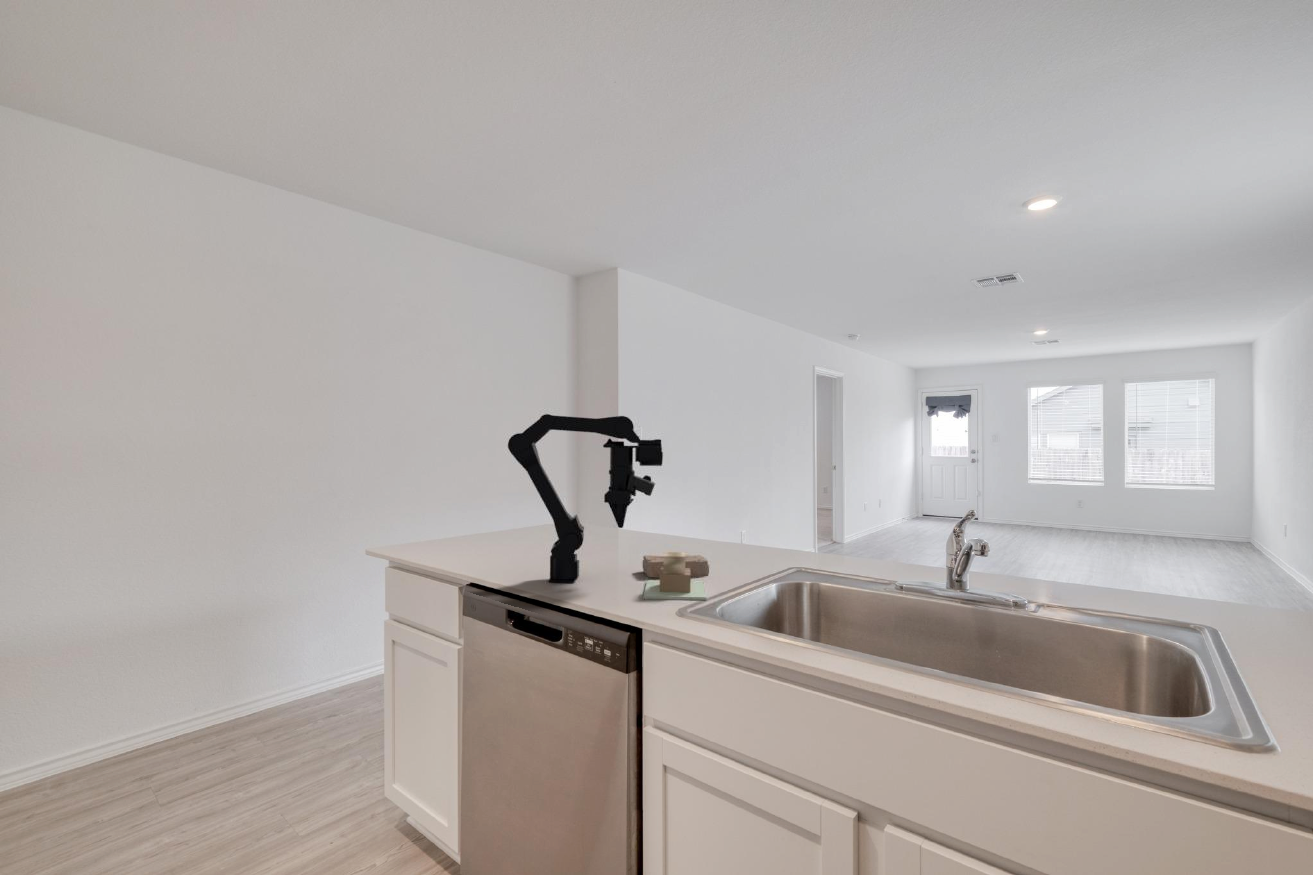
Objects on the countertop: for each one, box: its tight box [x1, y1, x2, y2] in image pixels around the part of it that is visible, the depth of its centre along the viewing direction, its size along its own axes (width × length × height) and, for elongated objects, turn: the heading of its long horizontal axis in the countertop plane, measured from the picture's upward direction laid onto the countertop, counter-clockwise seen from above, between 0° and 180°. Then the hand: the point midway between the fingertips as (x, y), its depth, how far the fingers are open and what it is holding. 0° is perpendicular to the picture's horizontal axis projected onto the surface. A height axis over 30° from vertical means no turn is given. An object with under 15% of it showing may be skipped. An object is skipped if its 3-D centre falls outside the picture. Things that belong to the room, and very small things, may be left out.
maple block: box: [663, 551, 686, 574], centre depth 135 cm, size 5×5×4 cm
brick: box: [642, 554, 710, 579], centre depth 153 cm, size 17×8×5 cm, turn 103°
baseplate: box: [642, 568, 707, 601], centre depth 135 cm, size 14×14×5 cm
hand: (620, 527), depth 146 cm, fingers closed
